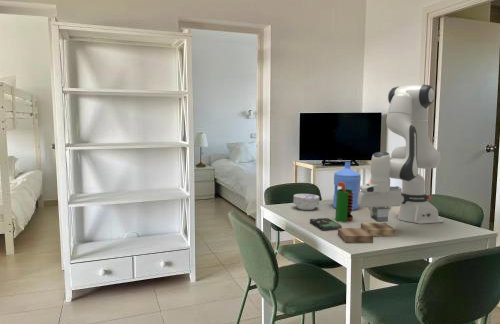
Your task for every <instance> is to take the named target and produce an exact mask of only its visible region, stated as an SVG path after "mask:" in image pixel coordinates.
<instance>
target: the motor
mask: <svg viewBox="0 0 500 324" xmlns="http://www.w3.org/2000/svg"><path fill="white" fill-rule="evenodd" d="M338 187H340V188H339V189H338V188H337V197H336V208H335V218H334V219H335V220H336V221H338V222H342V223H347V222H353V219H354V218H353V215H352V214H351V213H352V212H353V210H352V208H353V206H351V205H353V203H351V202H353V200H352V199H353V193H352V190H350V189H346V188H345V184H344V183H343V182H339V184H338ZM341 187H342V188H343V189H341Z"/></svg>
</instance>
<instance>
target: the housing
mask: <svg viewBox="0 0 500 324" xmlns="http://www.w3.org/2000/svg"><path fill="white" fill-rule="evenodd" d="M372 211H373V212H375V216H371V215H370V219H373V220H374V221H375V222H376V223H387V222H388V223H389V212H388V209H387V208H386V207H373V209H372Z"/></svg>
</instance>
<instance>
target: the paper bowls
mask: <svg viewBox="0 0 500 324" xmlns="http://www.w3.org/2000/svg"><path fill="white" fill-rule="evenodd" d="M292 201H293V204H294V205H296V208H298V209H299V210H301V211H312V210H315V209H316V207H317V206H319V205H320V196H319V195H316V194H314V193H313V194H311V193H295V194H293V200H292Z"/></svg>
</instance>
